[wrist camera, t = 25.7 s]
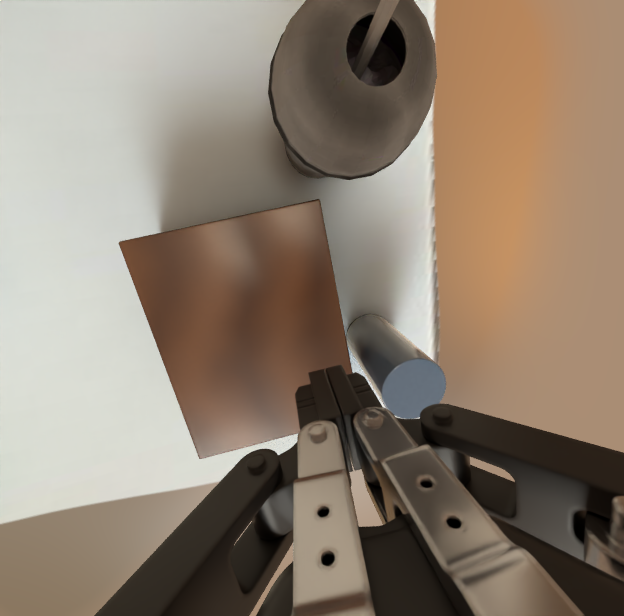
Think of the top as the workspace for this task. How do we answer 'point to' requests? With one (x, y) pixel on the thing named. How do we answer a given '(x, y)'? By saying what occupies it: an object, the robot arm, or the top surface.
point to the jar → (395, 367)
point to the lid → (241, 319)
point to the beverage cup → (351, 85)
